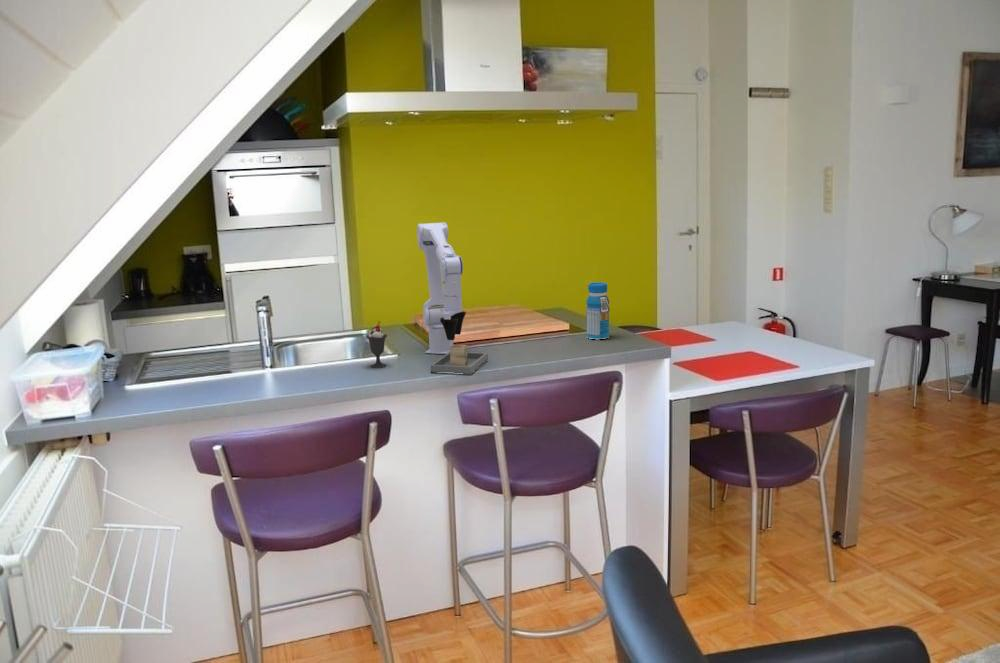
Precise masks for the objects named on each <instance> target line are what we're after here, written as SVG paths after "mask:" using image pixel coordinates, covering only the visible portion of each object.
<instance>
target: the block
mask: <svg viewBox="0 0 1000 663" xmlns="http://www.w3.org/2000/svg"><path fill="white" fill-rule="evenodd" d="M467 352H468V345H467V344H453V345H452V347H451V348H450V362H451V366H466V364H467Z"/></svg>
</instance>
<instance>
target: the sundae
mask: <svg viewBox="0 0 1000 663" xmlns="http://www.w3.org/2000/svg"><path fill="white" fill-rule="evenodd" d="M380 323H381V321H378V323H377V325H376V326H374V327H371V329H370V333H369V334H366V335H365V337H366V338H367V339H368V343H369V346H370V347H369V348H370V351H371V353H372V354H373V355H374V356H375V359H376V360H375V363H374V364H371V365H370V367H371V368H374V369H380V368H379V367H381V368H385V367H386V366H387V364H386V363H383V362H381V359H380V358H381V355H382V354H383V353H384V351H385V341H386V337H388V335H387V334H386V333H384V332H383V330H382V328H381V326H380ZM384 366H385V367H384Z"/></svg>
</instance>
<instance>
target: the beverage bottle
mask: <svg viewBox="0 0 1000 663" xmlns="http://www.w3.org/2000/svg"><path fill="white" fill-rule="evenodd" d="M587 287H588V289H587V291H588V293H589V295H588V296H587V298H586V301H585V302H586V307H585V313H586V320H585V321H586V338H587V339H588V338H589V339H588V340H590V339H606V338H608V339H609V338H610V311H611V310H610V307H609V304H610V300H609V297H608V296H607V293H608V283H606V282H601V281H600V282H597V281H596V282H594V281H593V282H589V283H588V286H587ZM606 340H607V339H606Z"/></svg>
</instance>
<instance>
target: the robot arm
mask: <svg viewBox="0 0 1000 663" xmlns="http://www.w3.org/2000/svg"><path fill="white" fill-rule="evenodd" d="M416 238H417V246H418V249H419V250H421V251H423V254H424V257H425V264H426V274H427V281H428V283H427V284H428V292H429V298H428V299H427V300H426V302H424V304H423V306H422V318H423V324H424V325H425V326H426V327H428V343H429V349H427V350H426V351H425V354H435V355H436V354H438V355H446V354H447V353H449V352H450V348H451V347H452V345H454V340H455V339H456V335H461V334H462V328H463V327H462V326H463V323H464V318H466V315H467V312H466V311H464V310H463V299H462V275H463V272H464V262H463V259H462V257H461V255H457V254H456V253H455V252H456V251H454V248H453V246H452V245H451V244H449V243H448V242H447V241H448V239H449V227H448V224H447V223H446V222H445V221H442V222H429V223H418V224H417V226H416Z"/></svg>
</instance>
